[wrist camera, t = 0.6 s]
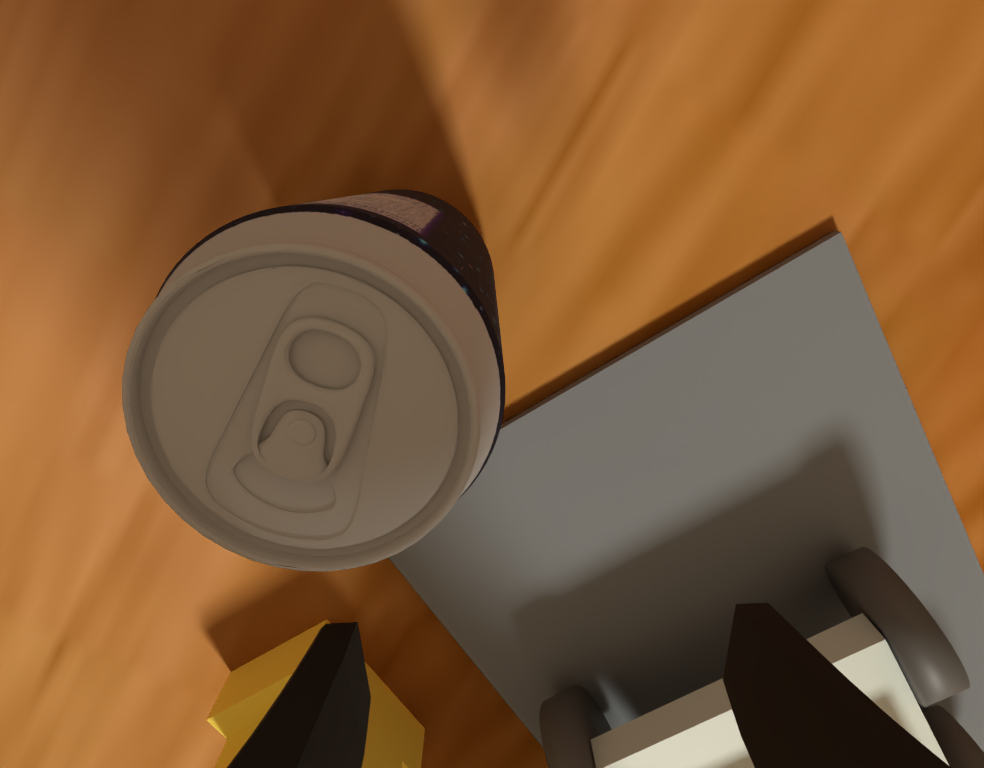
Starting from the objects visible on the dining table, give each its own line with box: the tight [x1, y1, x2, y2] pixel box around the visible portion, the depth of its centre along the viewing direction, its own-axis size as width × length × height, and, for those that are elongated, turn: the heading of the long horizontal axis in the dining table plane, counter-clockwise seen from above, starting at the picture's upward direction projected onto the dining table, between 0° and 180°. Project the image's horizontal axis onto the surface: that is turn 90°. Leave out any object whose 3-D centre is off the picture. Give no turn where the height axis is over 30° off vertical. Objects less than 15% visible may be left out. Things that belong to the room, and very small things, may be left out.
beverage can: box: [122, 190, 505, 571], centre depth 14 cm, size 6×6×12 cm
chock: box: [207, 619, 425, 768], centre depth 23 cm, size 5×7×5 cm
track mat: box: [388, 231, 984, 752], centre depth 24 cm, size 19×25×1 cm
